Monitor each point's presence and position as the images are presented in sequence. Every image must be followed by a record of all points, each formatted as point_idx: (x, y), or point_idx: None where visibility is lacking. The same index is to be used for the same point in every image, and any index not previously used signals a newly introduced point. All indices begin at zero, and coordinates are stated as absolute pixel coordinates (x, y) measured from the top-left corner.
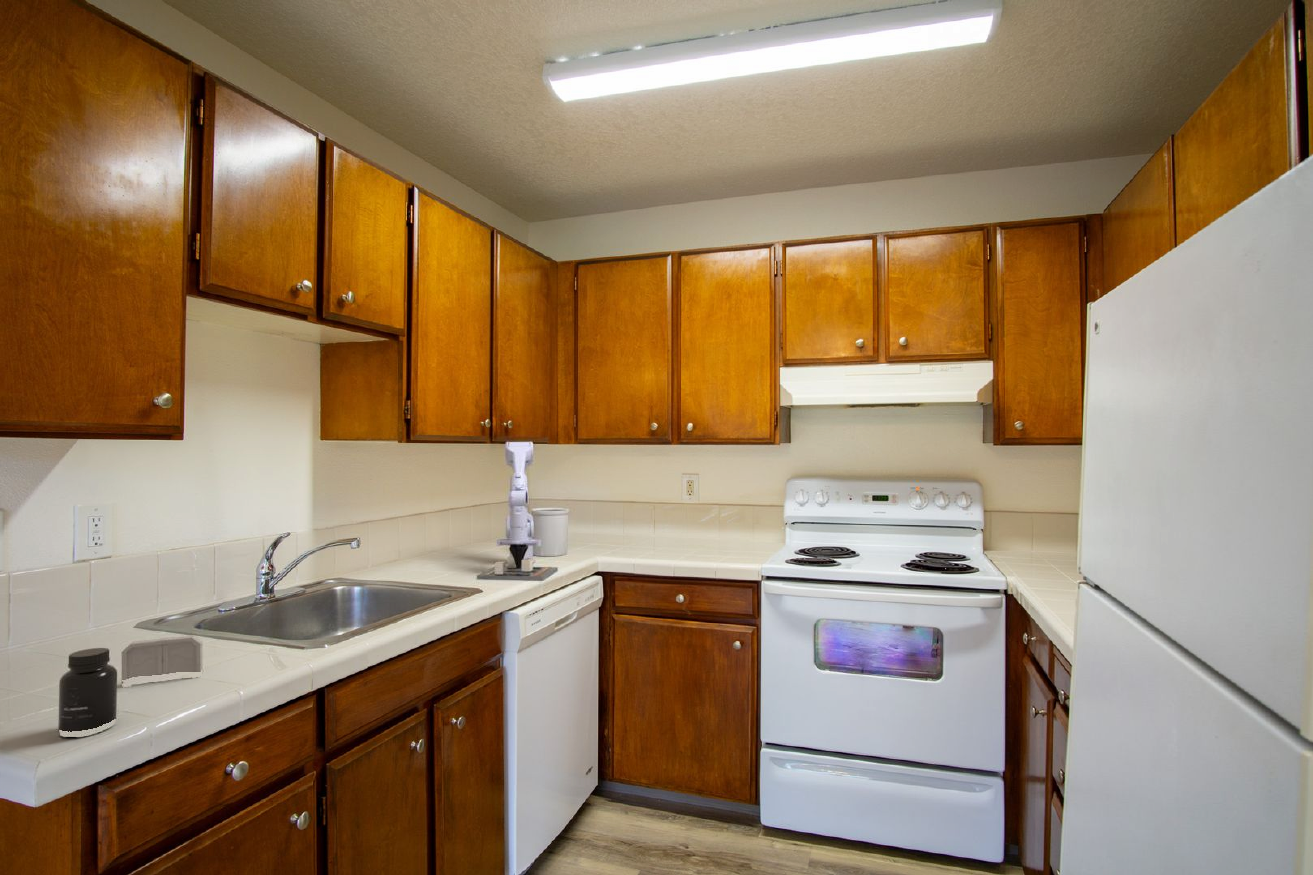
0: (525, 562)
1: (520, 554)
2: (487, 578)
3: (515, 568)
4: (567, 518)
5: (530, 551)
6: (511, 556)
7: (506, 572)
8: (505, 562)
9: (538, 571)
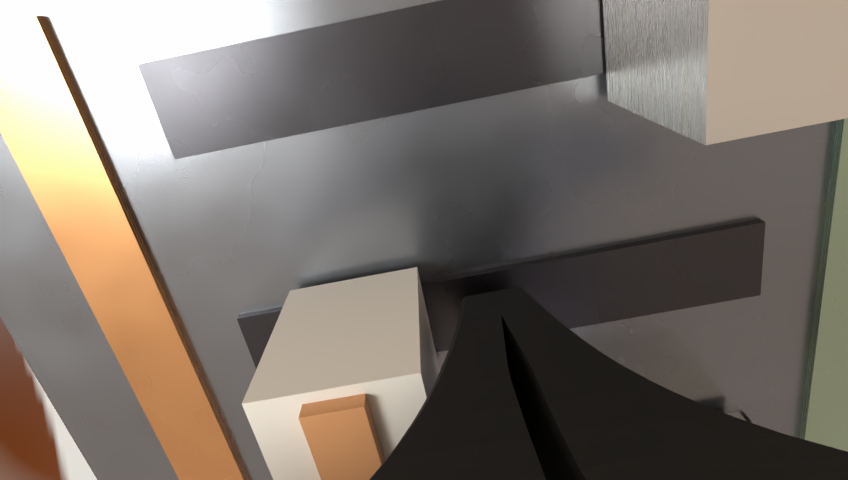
0: (340, 359)
1: (429, 442)
2: None
3: None
4: None
5: None
6: None
7: (636, 176)
8: (698, 84)
9: (218, 366)
